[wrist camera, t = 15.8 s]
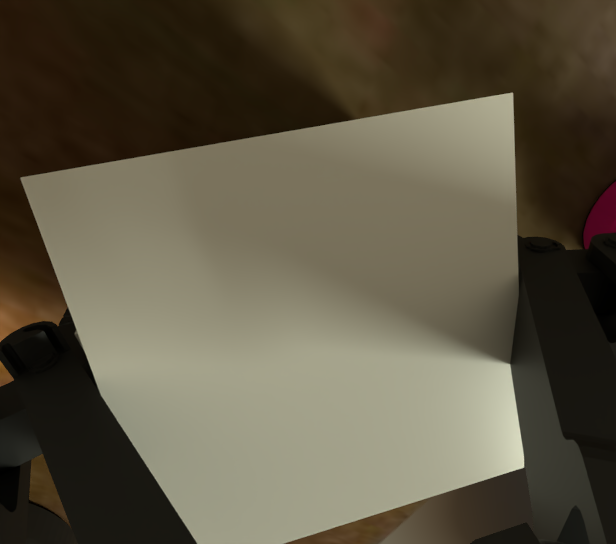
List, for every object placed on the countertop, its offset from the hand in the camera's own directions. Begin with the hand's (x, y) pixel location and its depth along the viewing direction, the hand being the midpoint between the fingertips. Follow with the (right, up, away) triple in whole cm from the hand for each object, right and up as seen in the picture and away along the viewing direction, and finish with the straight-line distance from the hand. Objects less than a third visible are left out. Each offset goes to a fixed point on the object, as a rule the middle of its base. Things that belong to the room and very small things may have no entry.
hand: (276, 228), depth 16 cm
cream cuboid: (0, -2, +1) cm, 2 cm away
